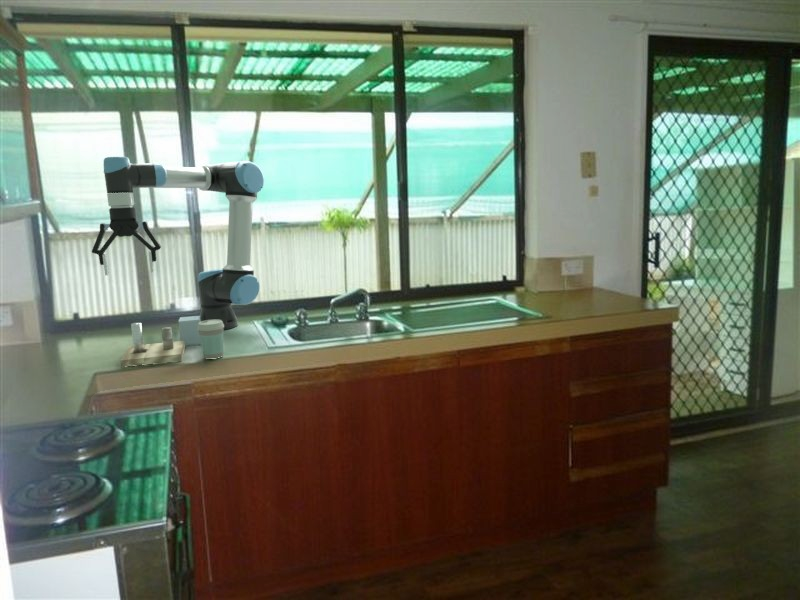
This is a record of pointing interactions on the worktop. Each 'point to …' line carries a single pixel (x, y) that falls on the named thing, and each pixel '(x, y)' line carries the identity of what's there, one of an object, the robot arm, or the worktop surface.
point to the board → (156, 351)
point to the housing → (189, 330)
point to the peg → (137, 338)
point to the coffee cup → (211, 337)
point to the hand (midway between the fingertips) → (130, 273)
